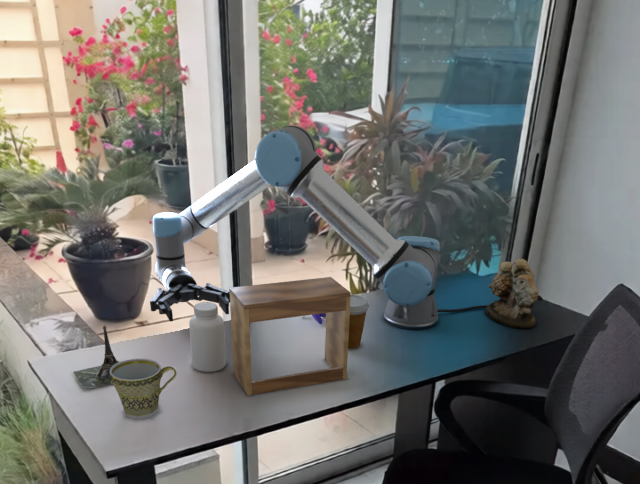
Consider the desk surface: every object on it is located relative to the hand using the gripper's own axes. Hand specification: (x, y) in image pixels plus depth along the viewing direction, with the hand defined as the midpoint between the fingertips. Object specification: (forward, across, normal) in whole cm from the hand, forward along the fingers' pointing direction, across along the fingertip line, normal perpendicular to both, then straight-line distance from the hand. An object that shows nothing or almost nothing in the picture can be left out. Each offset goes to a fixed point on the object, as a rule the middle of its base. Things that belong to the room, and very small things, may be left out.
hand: (199, 312), depth 156 cm
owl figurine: (+5, -88, -11) cm, 89 cm away
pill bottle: (+7, 0, -11) cm, 13 cm away
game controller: (-10, -36, -11) cm, 39 cm away
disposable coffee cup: (+7, -36, -11) cm, 39 cm away
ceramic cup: (+24, +18, -11) cm, 32 cm away
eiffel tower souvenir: (+5, +22, -11) cm, 25 cm away
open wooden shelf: (+19, -16, -11) cm, 27 cm away
